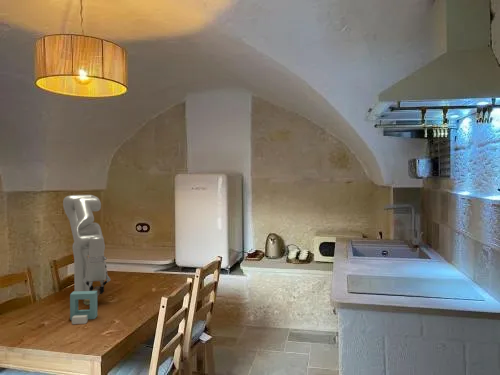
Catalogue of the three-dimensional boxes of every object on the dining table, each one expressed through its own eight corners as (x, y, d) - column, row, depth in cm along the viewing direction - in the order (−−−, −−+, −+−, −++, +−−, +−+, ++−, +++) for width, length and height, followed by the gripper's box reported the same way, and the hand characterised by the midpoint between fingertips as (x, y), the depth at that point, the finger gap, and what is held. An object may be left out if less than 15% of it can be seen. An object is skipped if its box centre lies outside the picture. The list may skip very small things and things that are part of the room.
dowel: (93, 294, 215) (93, 286, 215) (101, 294, 216) (102, 286, 216) (81, 306, 193) (82, 297, 193) (90, 307, 194) (91, 298, 194)
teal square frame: (73, 316, 191) (73, 291, 191) (97, 315, 193) (97, 290, 193) (70, 320, 186) (70, 294, 186) (94, 319, 188) (94, 293, 188)
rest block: (73, 322, 184) (73, 315, 184) (87, 321, 185) (87, 314, 185) (71, 324, 181) (71, 317, 181) (85, 323, 182) (85, 317, 182)
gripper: (114, 258, 219) (114, 291, 219) (82, 258, 216) (82, 292, 216) (111, 260, 211) (111, 295, 211) (77, 261, 209) (78, 296, 209)
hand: (96, 293), depth 214 cm, fingers closed on dowel, 4 cm apart
